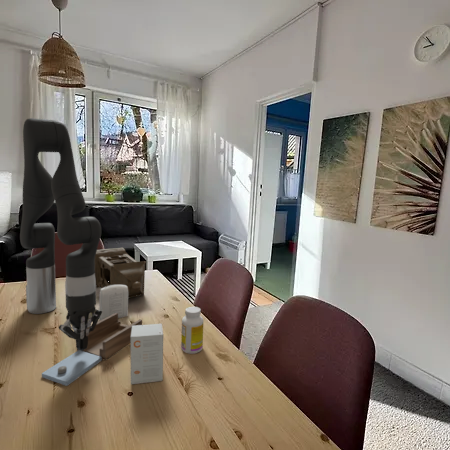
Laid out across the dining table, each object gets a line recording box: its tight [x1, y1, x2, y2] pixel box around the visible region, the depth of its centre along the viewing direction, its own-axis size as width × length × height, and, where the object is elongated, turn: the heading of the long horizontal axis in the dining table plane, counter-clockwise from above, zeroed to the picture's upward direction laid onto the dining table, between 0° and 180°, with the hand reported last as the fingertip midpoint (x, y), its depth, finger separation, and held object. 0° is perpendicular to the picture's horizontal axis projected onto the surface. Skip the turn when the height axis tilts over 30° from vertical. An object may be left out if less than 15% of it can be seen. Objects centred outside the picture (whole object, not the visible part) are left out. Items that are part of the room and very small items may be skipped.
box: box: [76, 313, 143, 361], centre depth 96 cm, size 11×16×6 cm
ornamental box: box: [95, 247, 147, 299], centre depth 136 cm, size 35×18×18 cm, turn 40°
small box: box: [130, 323, 164, 385], centre depth 80 cm, size 8×6×13 cm
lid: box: [41, 350, 103, 387], centre depth 82 cm, size 8×12×3 cm
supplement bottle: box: [180, 306, 204, 355], centre depth 94 cm, size 7×7×13 cm
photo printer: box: [98, 285, 129, 321], centre depth 113 cm, size 10×4×12 cm, turn 123°
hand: (82, 348), depth 86 cm, fingers closed
